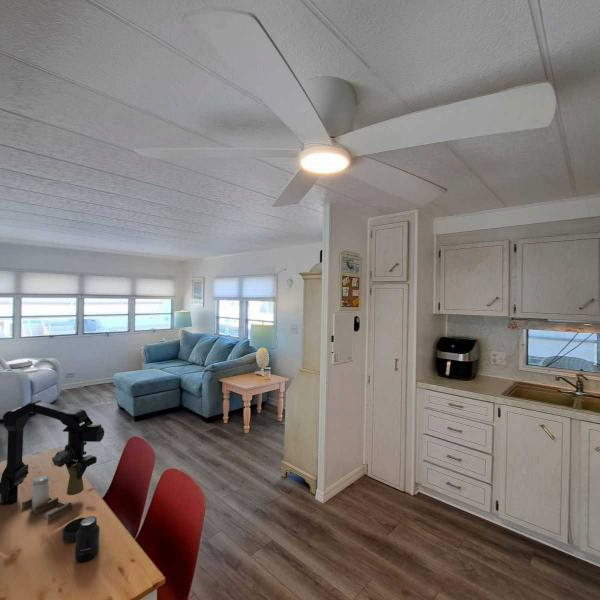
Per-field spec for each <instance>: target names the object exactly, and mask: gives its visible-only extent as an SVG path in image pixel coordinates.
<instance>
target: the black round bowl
mask: <svg viewBox="0 0 600 600" xmlns="http://www.w3.org/2000/svg"><path fill="white" fill-rule="evenodd" d="M84 518H85V517H79V518H76V519H74V520H72V521H70V522H68V523H67V524H66V525H64V527H63V530H62V540H63V541H64V542H66V543H76V533H77V531H78V530H79V529H80V522H81V521H82V520H83V519H84Z"/></svg>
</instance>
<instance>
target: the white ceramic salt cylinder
mask: <svg viewBox="0 0 600 600" xmlns="http://www.w3.org/2000/svg"><path fill="white" fill-rule="evenodd" d="M49 496H50V479H49V476H48V475H42V476H39V477H36V478H34V480H32V483H31V498H32V510H35V508H36V507H38V506H40V505H42V504H44V503H46V502H48V501H49Z"/></svg>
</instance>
